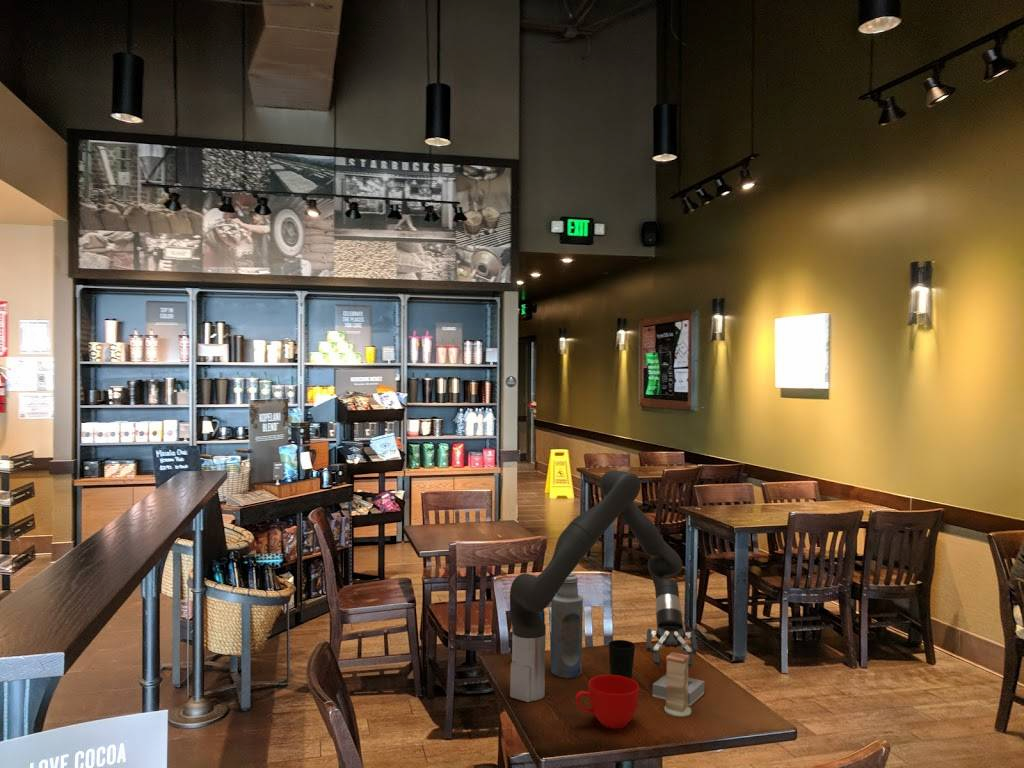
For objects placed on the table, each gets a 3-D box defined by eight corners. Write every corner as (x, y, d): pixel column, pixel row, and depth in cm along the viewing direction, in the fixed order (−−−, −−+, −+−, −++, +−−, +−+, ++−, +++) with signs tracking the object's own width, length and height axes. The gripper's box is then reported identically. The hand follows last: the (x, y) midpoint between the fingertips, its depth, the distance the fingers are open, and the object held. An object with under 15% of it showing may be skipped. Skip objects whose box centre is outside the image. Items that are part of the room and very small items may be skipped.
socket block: (690, 706, 203) (690, 693, 203) (652, 696, 209) (652, 684, 209) (704, 693, 212) (704, 681, 212) (667, 683, 218) (668, 672, 218)
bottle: (555, 679, 219) (557, 578, 220) (546, 667, 229) (548, 570, 229) (586, 677, 222) (588, 576, 222) (575, 665, 231) (577, 568, 232)
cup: (633, 692, 212) (634, 649, 212) (606, 689, 213) (607, 647, 213) (634, 681, 219) (635, 641, 219) (608, 679, 221) (609, 638, 221)
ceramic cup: (566, 716, 195) (567, 678, 195) (625, 710, 199) (626, 672, 200) (584, 738, 182) (585, 698, 182) (647, 731, 187) (648, 691, 187)
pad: (685, 719, 194) (685, 716, 194) (660, 712, 198) (660, 710, 198) (695, 710, 200) (695, 707, 200) (670, 703, 204) (670, 701, 204)
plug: (682, 713, 197) (683, 660, 197) (665, 708, 199) (666, 657, 199) (688, 706, 201) (689, 655, 201) (671, 702, 203) (671, 651, 204)
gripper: (645, 606, 219) (649, 659, 208) (694, 608, 218) (700, 661, 207) (643, 618, 224) (646, 670, 213) (691, 620, 223) (697, 673, 212)
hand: (673, 666), depth 210 cm, fingers open, 8 cm apart
